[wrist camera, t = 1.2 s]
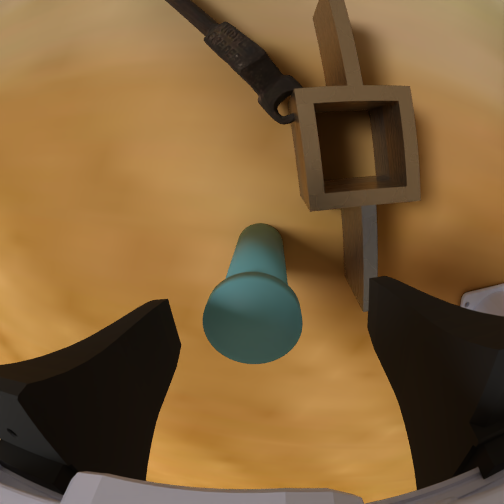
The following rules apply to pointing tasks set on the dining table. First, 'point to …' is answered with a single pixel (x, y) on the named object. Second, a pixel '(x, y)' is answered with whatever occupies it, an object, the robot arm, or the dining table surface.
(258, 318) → the pin
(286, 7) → the dining table surface
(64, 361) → the robot arm
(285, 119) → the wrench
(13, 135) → the dining table surface
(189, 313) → the dining table surface
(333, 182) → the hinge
